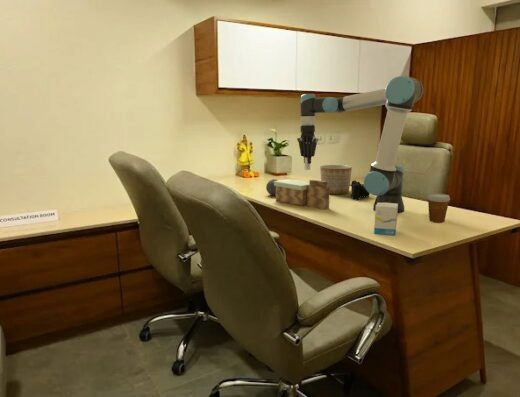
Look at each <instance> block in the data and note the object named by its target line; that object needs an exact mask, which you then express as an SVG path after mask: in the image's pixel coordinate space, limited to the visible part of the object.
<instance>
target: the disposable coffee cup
mask: <svg viewBox="0 0 520 397" xmlns="http://www.w3.org/2000/svg"><path fill="white" fill-rule="evenodd" d="M426 199H427V200H428V201H427V202H428V203H427V204H428V220H429V222H432V223H435V224H436V223H437V224H442V223H445V221H446V216H447V211H448V207H449V203H450V201H451V198H450V194H445V193H429V194H428V195H427V196H426Z"/></svg>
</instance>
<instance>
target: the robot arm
mask: <svg viewBox="0 0 520 397" xmlns="http://www.w3.org/2000/svg"><path fill="white" fill-rule="evenodd" d="M423 93H424V87H423V84H422V82H421V81H420V80H419V79H418V78H415V77H411V76H407V75H401V76H396V77H394V78H392V79H391V80H390V81H389V82H388V83H387V84H386V86H385V88H380V89H376V90H372V91H366V92H361V93H356V94H351V95H347V96H340V97H333V96H332V97H331V96H326V97H316V95H315V94H314V93H311V94H310V93H308V94H307V93H304V94H302V95H301V96H300V122H299V124H300V137H297V139H296V140H297V142H298V146H299V152H300V156H301V157H303V163H304V170H305V171H309V170H311V164H312V157H315V155H316V148H317V144H318V142H319V138H317V137H315V136H316V135H315V132H316V125H315V124H316V114H333V113H335V114H341V113H344V112H349V111H356V110H360V109H361V110H362V109H366V108H367V109H368V108H374V107H377V106H378V107H379V106H383V105H385V108H386V110H387V112H386V117H385V120H384V123H383V129H382V133H381V136H380V141H379V145H378V148H377V154H376V156H375V161H373V162H372V163H371V164H370V166H369V172H368V173H366V175H365V176H364V178H363V186H364V187H365V189H366V190H367V191H368V192H369V193H370V195H372V196H376V198H375V200H374V202H373V206H372V209H373V211H374V212H375V209H376V205H377V203H378V202H379V203H396V204H398V211H397V215H398V214H403V213H404V212H405V203H404V199H403V197H402V196H403V181H404V168H403V166H401V165H395V163H396V159H397V155H398V151H399V148H400V143H401V139H402V136H403V132H404V128H405V124H406V120H407V116H408V114H409V113H411V111H413V108H414V103H417V102H418V101H419V100H420V99H421V97H422V96H423Z"/></svg>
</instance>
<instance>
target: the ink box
mask: <svg viewBox="0 0 520 397" xmlns="http://www.w3.org/2000/svg"><path fill="white" fill-rule="evenodd" d="M397 211H398V204H396V203H379V202H378V203H377V205H376V209H375V211H374V212H375V214H374V226H373V229H374V230H373V234H375V235H385V236H396V234H397V224H398V223H397V222H398V214H397Z"/></svg>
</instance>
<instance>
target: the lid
mask: <svg viewBox="0 0 520 397" xmlns="http://www.w3.org/2000/svg"><path fill="white" fill-rule="evenodd" d="M309 182H310V181H302V180H296V179H295V180H294V179H288V178H287V179H281V180H280V179H279V181H274V186H280V187H285V188H291V189H297V190H306V189H307V185H309Z"/></svg>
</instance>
